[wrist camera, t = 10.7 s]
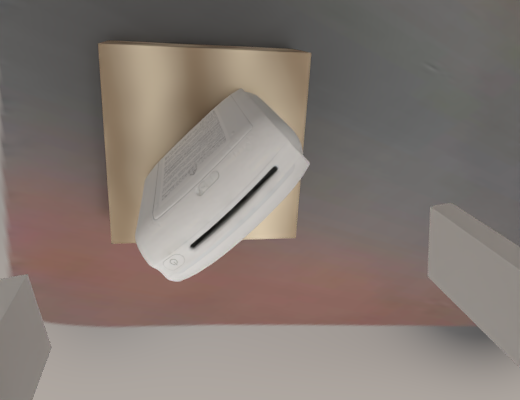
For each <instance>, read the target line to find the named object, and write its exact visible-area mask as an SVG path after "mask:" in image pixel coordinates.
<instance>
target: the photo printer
mask: <svg viewBox="0 0 520 400" xmlns="http://www.w3.org/2000/svg"><path fill="white" fill-rule="evenodd" d="M309 164H310V163H309V161H308V160H307V159H306V158H305V157H304V156H303V149H302V145H301V142H300V140H299V138H298V136H297V135H296V133H295V132H294V131H293V130H292V128H291V127H290V126H288V125H287V124H286V123H285V122H284V121H283V120H282V119H281V118H280V117H279V116H278V115H277V114H276V113H275V112H274V111H273V110H272V109H271V108H270V107H269V106H268V105H267V104H266V103H265V102H264V101H263V100H262V99H261V98H260V97H258V96H257V95H255V94H253V93H249V92H245V91H244V90H243V89H242V88H241V89H239V90H237V91H235V92H234V93H232V94H231V95H229V96H228V97H227V98H225V99H224V100H223V101H222V102H220V103H219V104H218V105H217V106H216V107H215V108H214V109H213V110H211V111H210V112H209V113H208V114H207V115H206V116H205V117H204V118H203V119H202V120H201V121H200V122H199V123H198V124H197V125H195V126H194V127H193V128H192V129H191V130H190V131H189V132H188V133H187V134H186V135H185V136H184V137H183V138H182V139H181V140H180V141H179V142H178V143H177V144H176V145H175V146H174V147H173V148H172V149H171V150H170V151H169V152H168V153H167V154H166V155H165V156H164V157H163V158H162V159H161V160H160V161H159V162H158V163H157V164H156V165H155V166H154V168H153V169H152V170H151V172H150V173H149V174H148V176H147V178H146V179H145V183H144V188H143V195H142V200H141V206H140V211H139V217H138V222H137V228H136V232H135V240H136V243H137V246H138V248H139V251H140V252H141V254H142V256H143V257H144V259H145V260H146V261H147V263H148V264H149V265H150V266H151V267H153V268H155V269H157V270H158V271H160V272H161V273H162V274H163V275H164V276H165V277H166V278H167V279H169V280H171V281H182V280H184V279H187V278H189V277H191V276H193V275H195V274H197V273H198V272H200V271H202V270H203V269H205V268H206V267H208V266H209V265H211V264H212V263H214V262H215V261H216V260H218V259H219V258H220V257H222V256H223V255H224V254H226V253H227V252H228V251H229V250H231V249H232V248H233V247H234V246H235V245H237V244H238V243H239V242H240V241H241V240H242V239H244V238H245V237H246V236H247V235H248V234H249V233H250V232H251V231H252V230H254V229H255V228H256V227H257V226H258V225H259V224H260V223H261V222H262V221H263V220H264V219H265V218H266V217H267V216H268V215H269V214H270V213H271V212H272V211H273V210H274V209H275V208H276V207H277V206H278V205H279V204H280V203H281V202H282V201H283V200H284V199H285V198H286V196H287V195H288V194H289V193H290V192H291V191H292V190H293V188H294V187H295V186H296V185H297V183H298V182H299V181H300V179H301V178H302V176H303V175H304V173H305V171H306V170H307V168H308V166H309Z"/></svg>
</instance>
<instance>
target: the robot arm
mask: <svg viewBox="0 0 520 400" xmlns="http://www.w3.org/2000/svg"><path fill="white" fill-rule="evenodd" d="M428 277H429V278H430V279H431V280H432V281H433V282H434V283H435V284H436V285H437V286H438V287H439V288H440V289H441V290H442V291H443V292H444V293H445V294H446V295H447V296H448V297H449V298H450V299H451V300H452V301H453V302H454V303H455V304H456V305H457V306H458V307H459V308H460V309H461V310H462V311H463V312H464V313H465V314H466V315H467V316H468V317H469V318H470V319H471V320H472V321H473V322H474V323H475V324H476V325H477V326H478V327H479V328H480V329H481V330H482V331H483V332H484V333H485V334H487V336H488V337H489V338H490V339H491V340H492V341H493V342H494V343H495V344H496V345H497V346H498V347H499V348H500V349H501V350H502V351H503V352H504V353H505V354H506V355H507V356H508V357H509V358H510V359H511V360H512V361H513V362H514V363H515V364H517V366H519V368H520V247H519V246H517V245H516V244H514V243H513V242H511V241H510V240H508V239H507V238H505V237H503V236H502V235H500V234H499V233H497V232H496V231H494V230H493V229H491V228H490V227H488V226H486V225H485V224H483V223H482V222H480V221H479V220H477V219H476V218H474V217H473V216H471V215H469V214H468V213H466V212H465V211H463V210H462V209H460V208H459V207H457V206H455V205H454V204H452V203H447V204H441V205H436V206H430V230H429V254H428ZM50 350H51V344H50V341H49V338H48V335H47V332H46V329H45V326H44V323H43V320H42V317H41V314H40V311H39V308H38V305H37V302H36V298H35V295H34V292H33V289H32V286H31V283H30V280H29V277H28V274H26V275H21V276H15V277H9V278H3V279H1V280H0V400H32V399H33V396H34V394H35V391H36V388H37V385H38V383H39V380H40V377H41V374H42V372H43V369H44V367H45V364H46V361H47V358H48V356H49V353H50Z"/></svg>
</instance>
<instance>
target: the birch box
mask: <svg viewBox="0 0 520 400" xmlns="http://www.w3.org/2000/svg"><path fill="white" fill-rule="evenodd" d="M98 50H99V65H100V80H101V95H102V109H103V124H104V139H105V154H106V169H107V184H108V199H109V214H110V229H111V244H118V243H136V240H135V232H136V228H137V222H138V217H139V211H140V206H141V200H142V195H143V188H144V183H145V179H146V178H147V176H148V174H149V173H150V172H151V170H152V169H153V168H154V166H155V165H156V164H157V163H158V162H159V161H160V160H161V159H162V158H163V157H164V156H165V155H166V154H167V153H168V152H169V151H170V150H171V149H172V148H173V147H174V146H175V145H176V144H177V143H178V142H179V141H180V140H181V139H182V138H183V137H184V136H185V135H186V134H187V133H188V132H189V131H190V130H191V129H192V128H193V127H194V126H195V125H197V124H198V123H199V122H200V121H201V120H202V119H203V118H204V117H205V116H206V115H207V114H208V113H209V112H210V111H211V110H213V109H214V108H215V107H216V106H217V105H218V104H219V103H220V102H222V101H223V100H224V99H225V98H227V97H228V96H229V95H231V94H232V93H234V92H235V91H237V90H239V89H241V88H242V89H243V90H244V91H245V92H249V93H253V94H255V95H257V96H258V97H260V98H261V99H262V100H263V101H264V102H265V103H266V104H267V105H268V106H269V107H270V108H271V109H272V110H273V111H274V112H275V113H276V114H277V115H278V116H279V117H280V118H281V119H282V120H283V121H284V122H285V123H286V124H287V125H288V126H290V127H291V128H292V130H293V131H294V132H295V133H296V135H297V136H298V138H299V140H300V142H301V145H302V149H303V144H304V133H305V121H306V109H307V97H308V85H309V73H310V62H311V53H309V52H304V51H299V50H295V49H285V48H263V47H241V46H219V45H197V44H175V43H153V42H132V41H110V40H109V41H105V42H102V43H98ZM300 180H301V179H300ZM299 192H300V181H299V182H298V183H297V185H296V186H295V187H294V188H293V190H292V191H291V192H290V193H289V194H288V195H287V196H286V198H285V199H284V200H283V201H282V202H281V203H280V204H279V205H278V206H277V207H276V208H275V209H274V210H273V211H272V212H271V213H270V214H269V215H268V216H267V217H266V218H265V219H264V220H263V221H262V222H261V223H260V224H259V225H258V226H257V227H256V228H255V229H254V230H252V231H251V232H250V233H249V234H248V235H247V236H246V237H245V238H244V239H242V240H246V239H277V238H296V227H297V215H298V203H299Z"/></svg>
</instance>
